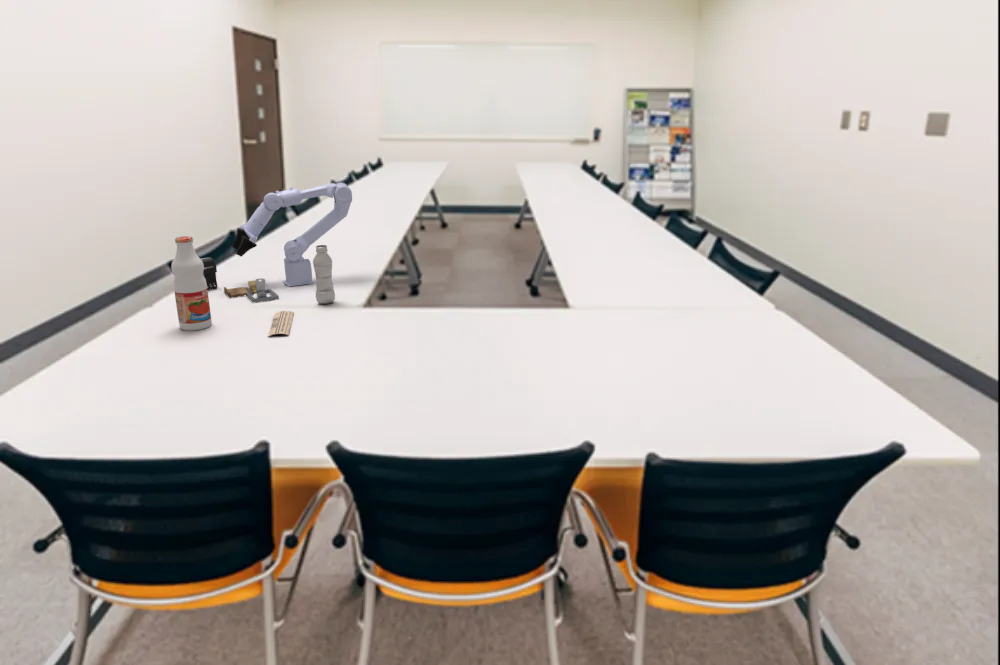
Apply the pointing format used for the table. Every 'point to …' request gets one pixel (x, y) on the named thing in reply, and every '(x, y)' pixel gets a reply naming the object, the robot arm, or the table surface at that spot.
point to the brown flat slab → (235, 291)
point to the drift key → (252, 285)
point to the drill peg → (260, 288)
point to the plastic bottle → (323, 276)
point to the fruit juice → (190, 287)
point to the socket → (274, 296)
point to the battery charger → (210, 273)
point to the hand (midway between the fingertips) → (236, 251)
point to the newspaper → (281, 323)
